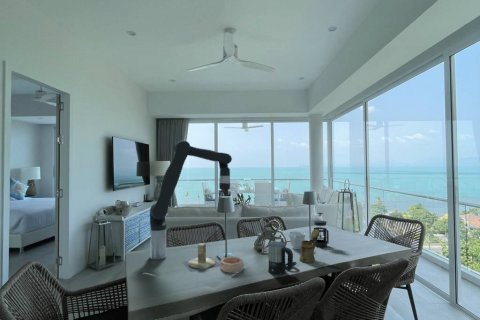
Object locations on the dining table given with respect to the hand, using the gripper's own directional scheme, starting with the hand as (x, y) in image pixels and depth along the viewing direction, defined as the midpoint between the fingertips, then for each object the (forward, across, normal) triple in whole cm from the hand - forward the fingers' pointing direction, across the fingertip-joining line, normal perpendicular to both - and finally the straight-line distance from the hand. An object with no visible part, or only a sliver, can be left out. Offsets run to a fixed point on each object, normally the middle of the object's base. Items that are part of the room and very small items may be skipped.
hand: (224, 205), depth 189 cm
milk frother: (+30, +52, +11) cm, 61 cm away
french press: (+27, +30, +61) cm, 73 cm away
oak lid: (+29, +24, -25) cm, 45 cm away
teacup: (+28, +26, +42) cm, 57 cm away
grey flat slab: (+30, +24, -25) cm, 46 cm away
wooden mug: (+29, +47, +35) cm, 65 cm away
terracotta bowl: (+30, +39, -13) cm, 50 cm away
